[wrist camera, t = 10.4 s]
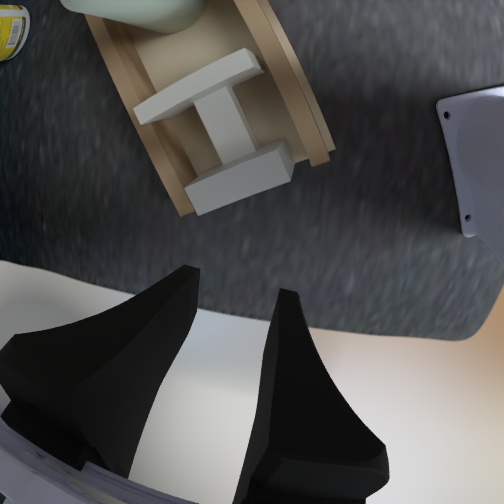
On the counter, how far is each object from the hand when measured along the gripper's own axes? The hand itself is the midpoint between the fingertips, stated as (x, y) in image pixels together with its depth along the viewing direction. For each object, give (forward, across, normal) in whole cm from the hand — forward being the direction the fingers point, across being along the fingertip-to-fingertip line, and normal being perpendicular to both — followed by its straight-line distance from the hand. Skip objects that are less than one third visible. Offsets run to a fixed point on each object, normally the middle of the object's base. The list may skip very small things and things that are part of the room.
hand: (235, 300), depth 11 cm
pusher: (+9, +3, -4) cm, 11 cm away
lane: (+10, +7, -11) cm, 17 cm away
